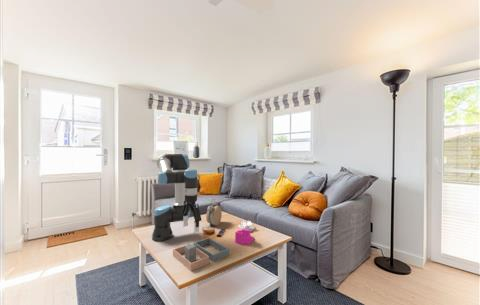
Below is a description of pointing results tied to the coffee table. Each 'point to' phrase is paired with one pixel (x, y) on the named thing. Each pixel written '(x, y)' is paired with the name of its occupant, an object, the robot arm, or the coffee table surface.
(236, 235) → the bracket
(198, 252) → the trough
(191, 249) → the stone block
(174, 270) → the coffee table surface
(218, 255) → the trough
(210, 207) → the beige tall rounded piece
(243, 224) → the lotus flower
